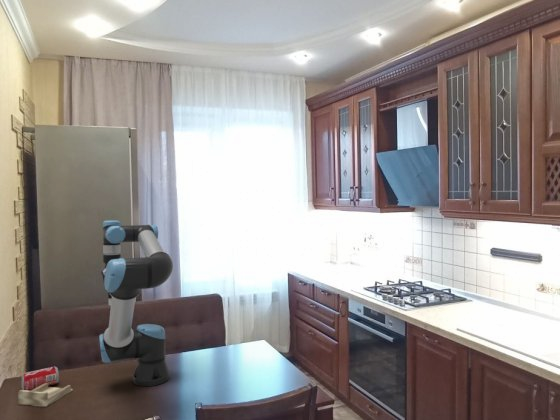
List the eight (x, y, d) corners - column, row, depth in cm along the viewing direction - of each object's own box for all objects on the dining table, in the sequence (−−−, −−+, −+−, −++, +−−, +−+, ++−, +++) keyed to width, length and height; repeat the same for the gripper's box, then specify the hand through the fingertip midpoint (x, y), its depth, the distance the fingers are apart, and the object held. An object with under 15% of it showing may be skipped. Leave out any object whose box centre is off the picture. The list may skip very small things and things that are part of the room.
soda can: (58, 365, 181) (22, 372, 173) (60, 383, 180) (24, 391, 171) (55, 366, 187) (20, 373, 179) (56, 383, 185) (21, 392, 177)
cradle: (72, 390, 176) (72, 378, 176) (45, 407, 161) (45, 393, 161) (47, 387, 178) (47, 375, 178) (18, 404, 164) (18, 390, 164)
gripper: (112, 252, 206) (113, 301, 206) (95, 255, 193) (96, 307, 194) (127, 252, 205) (127, 302, 205) (110, 255, 192) (111, 308, 192)
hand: (112, 304), depth 199 cm, fingers closed
